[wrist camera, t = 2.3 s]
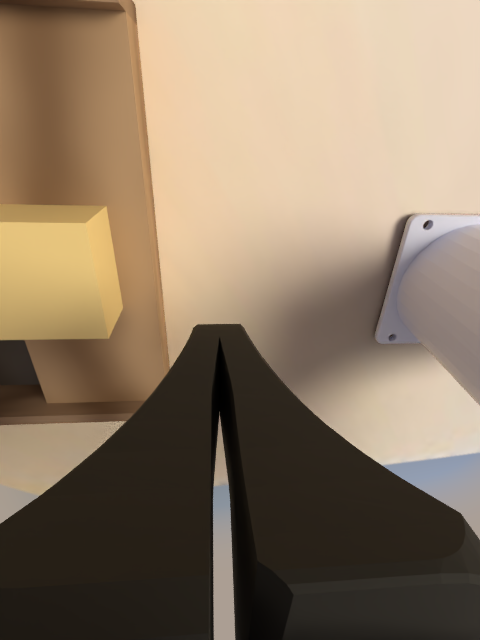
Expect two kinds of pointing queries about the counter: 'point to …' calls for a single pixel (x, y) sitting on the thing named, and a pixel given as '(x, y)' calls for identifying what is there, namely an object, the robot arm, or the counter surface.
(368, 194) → the counter surface
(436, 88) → the counter surface
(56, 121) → the box
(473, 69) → the counter surface
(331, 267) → the counter surface
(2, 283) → the block
